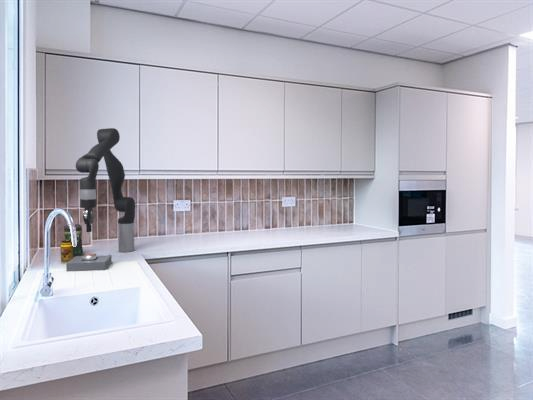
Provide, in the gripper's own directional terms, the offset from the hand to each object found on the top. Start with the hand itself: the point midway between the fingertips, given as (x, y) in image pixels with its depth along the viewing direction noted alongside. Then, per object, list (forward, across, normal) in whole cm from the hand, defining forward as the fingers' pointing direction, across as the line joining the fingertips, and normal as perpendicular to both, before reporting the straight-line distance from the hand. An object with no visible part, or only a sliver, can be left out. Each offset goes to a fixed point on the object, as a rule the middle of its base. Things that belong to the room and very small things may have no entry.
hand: (89, 231), depth 203 cm
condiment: (+18, -14, -15) cm, 28 cm away
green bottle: (+18, -26, -15) cm, 35 cm away
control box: (+18, 0, 0) cm, 18 cm away
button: (+16, 0, 0) cm, 16 cm away
